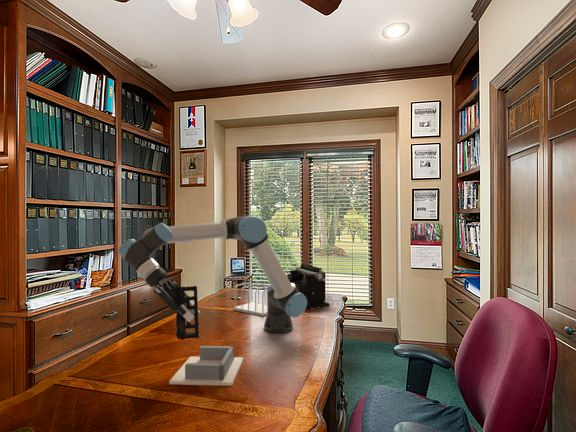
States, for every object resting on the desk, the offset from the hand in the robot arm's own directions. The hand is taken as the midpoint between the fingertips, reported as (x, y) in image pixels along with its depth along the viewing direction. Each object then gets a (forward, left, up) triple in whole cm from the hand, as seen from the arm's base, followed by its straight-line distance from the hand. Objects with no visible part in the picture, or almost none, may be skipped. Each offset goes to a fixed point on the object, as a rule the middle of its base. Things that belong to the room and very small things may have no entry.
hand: (194, 317), depth 119 cm
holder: (+4, 0, -8) cm, 9 cm away
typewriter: (-38, -99, -21) cm, 108 cm away
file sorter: (-11, -82, -21) cm, 85 cm away
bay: (-6, 0, -20) cm, 21 cm away
